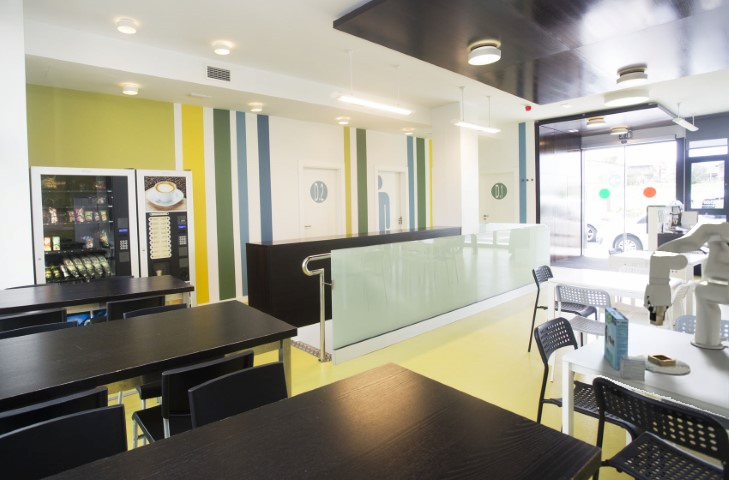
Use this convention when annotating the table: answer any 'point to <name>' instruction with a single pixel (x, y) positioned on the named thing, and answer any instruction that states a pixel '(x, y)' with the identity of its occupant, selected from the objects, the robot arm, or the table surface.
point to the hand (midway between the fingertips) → (656, 319)
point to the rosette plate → (665, 364)
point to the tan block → (658, 316)
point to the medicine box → (632, 368)
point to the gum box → (615, 336)
